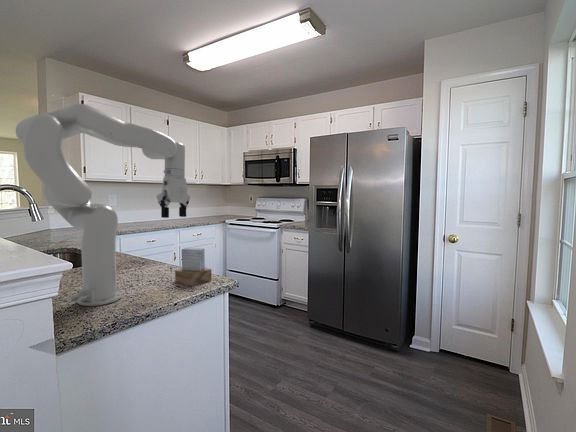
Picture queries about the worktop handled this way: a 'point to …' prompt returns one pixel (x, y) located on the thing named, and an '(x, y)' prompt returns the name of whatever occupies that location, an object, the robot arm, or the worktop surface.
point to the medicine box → (193, 259)
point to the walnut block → (192, 276)
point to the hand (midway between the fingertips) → (174, 217)
